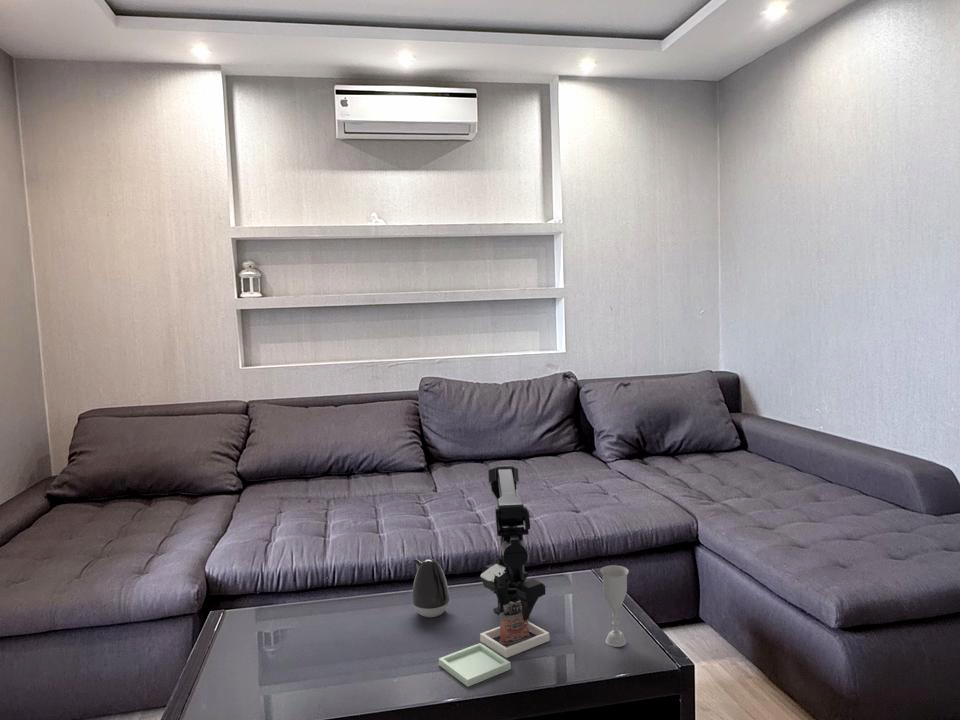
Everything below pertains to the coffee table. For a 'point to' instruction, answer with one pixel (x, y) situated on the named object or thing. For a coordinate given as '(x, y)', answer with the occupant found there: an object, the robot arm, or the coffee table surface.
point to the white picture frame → (488, 640)
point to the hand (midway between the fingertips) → (513, 613)
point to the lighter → (513, 625)
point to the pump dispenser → (430, 589)
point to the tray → (474, 664)
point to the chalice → (615, 598)
